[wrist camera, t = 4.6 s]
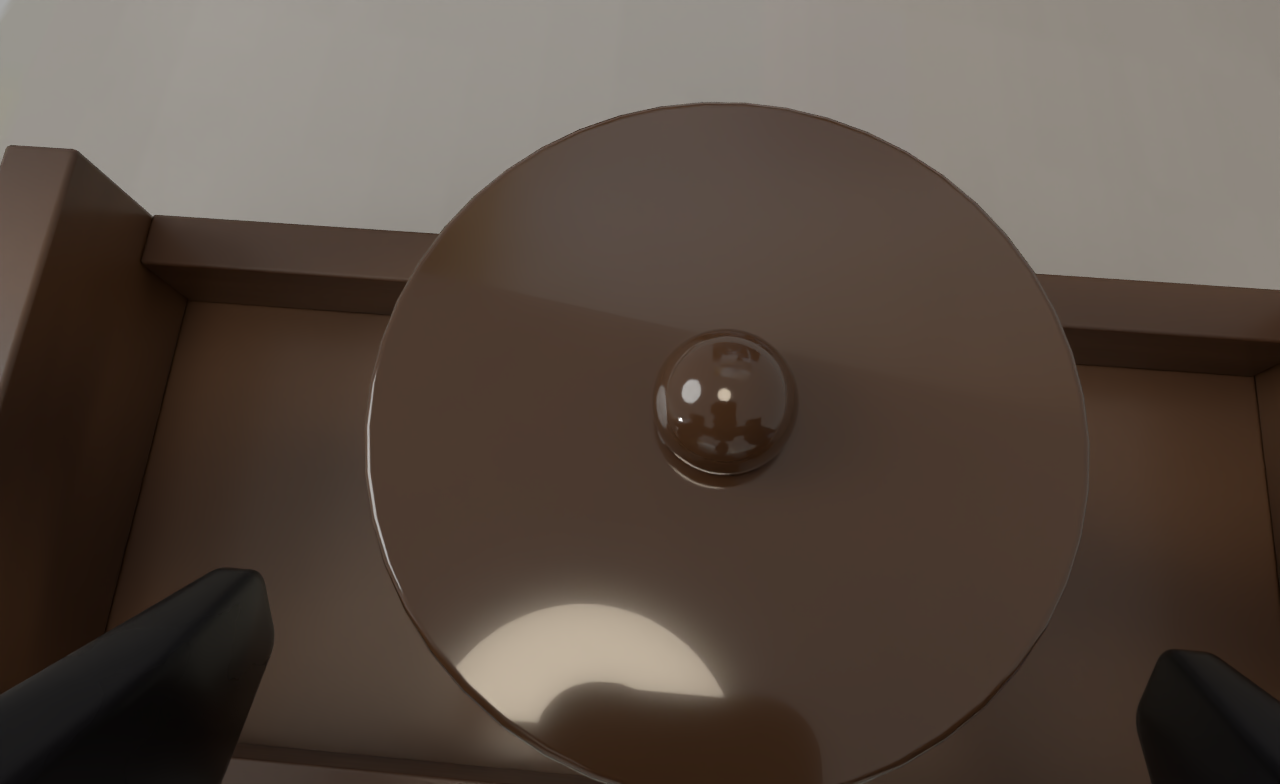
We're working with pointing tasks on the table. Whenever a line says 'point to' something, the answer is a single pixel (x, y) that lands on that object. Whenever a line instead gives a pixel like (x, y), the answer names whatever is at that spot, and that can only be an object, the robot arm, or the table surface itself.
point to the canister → (726, 451)
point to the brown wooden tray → (345, 539)
